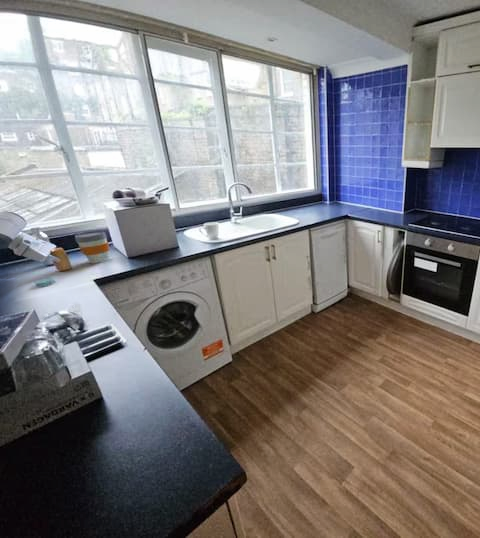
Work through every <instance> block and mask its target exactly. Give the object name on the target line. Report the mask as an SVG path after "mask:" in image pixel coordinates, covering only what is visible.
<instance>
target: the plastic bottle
mask: <svg viewBox="0 0 480 538" xmlns="http://www.w3.org/2000/svg"><path fill="white" fill-rule="evenodd" d="M29 230H30V233H31V236H33V237H35V238H37V239H36V240H38V239H40V240H43V241H46V242H49V243H51V241H50V238H49V236H48V234H46V233H45V232H42V229H41V227H40V226H36V227H31V228H29ZM41 263H42V264H43V265H44V266H51V265H53V266H54V263H53V261H52V260H48V259H45V260H44V261H43V262H41Z"/></svg>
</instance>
